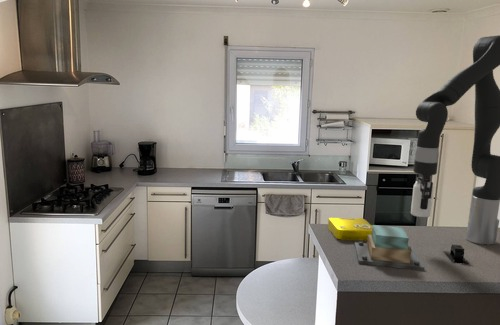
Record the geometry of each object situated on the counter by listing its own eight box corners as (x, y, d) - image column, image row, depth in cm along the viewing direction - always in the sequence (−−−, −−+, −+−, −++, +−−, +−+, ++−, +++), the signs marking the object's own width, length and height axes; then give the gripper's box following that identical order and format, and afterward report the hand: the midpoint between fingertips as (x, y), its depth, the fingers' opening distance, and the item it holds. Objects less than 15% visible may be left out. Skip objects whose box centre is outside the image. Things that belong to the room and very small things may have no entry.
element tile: (362, 227, 167) (363, 216, 166) (376, 241, 152) (378, 229, 152) (326, 227, 166) (327, 215, 165) (337, 241, 151) (338, 228, 150)
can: (430, 214, 148) (434, 181, 146) (429, 219, 142) (433, 185, 140) (411, 211, 151) (414, 179, 148) (409, 216, 145) (413, 183, 142)
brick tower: (412, 250, 144) (416, 226, 142) (424, 270, 128) (427, 243, 127) (354, 244, 147) (356, 220, 145) (358, 263, 132) (361, 236, 130)
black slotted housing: (474, 268, 133) (476, 255, 132) (450, 266, 134) (452, 252, 133) (460, 253, 145) (462, 241, 144) (438, 251, 146) (440, 239, 145)
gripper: (443, 164, 135) (437, 213, 138) (432, 156, 149) (427, 201, 152) (419, 163, 136) (414, 211, 139) (410, 155, 150) (406, 200, 153)
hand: (421, 206), depth 146 cm, fingers closed on can, 6 cm apart
